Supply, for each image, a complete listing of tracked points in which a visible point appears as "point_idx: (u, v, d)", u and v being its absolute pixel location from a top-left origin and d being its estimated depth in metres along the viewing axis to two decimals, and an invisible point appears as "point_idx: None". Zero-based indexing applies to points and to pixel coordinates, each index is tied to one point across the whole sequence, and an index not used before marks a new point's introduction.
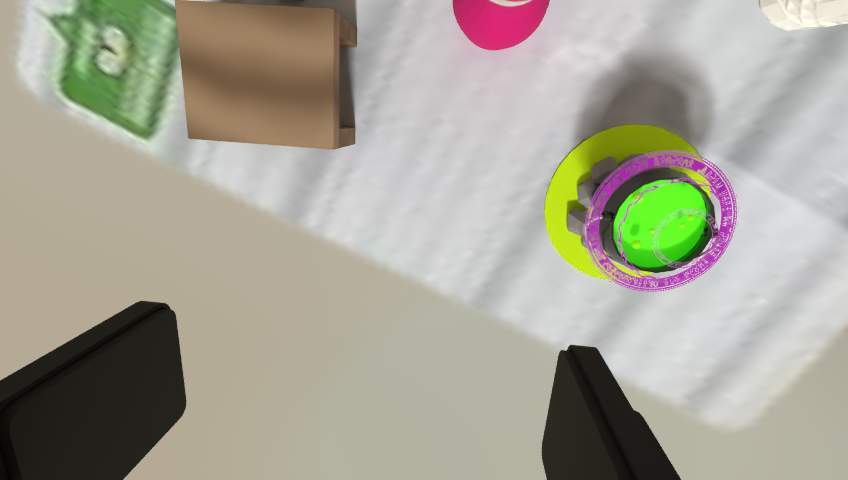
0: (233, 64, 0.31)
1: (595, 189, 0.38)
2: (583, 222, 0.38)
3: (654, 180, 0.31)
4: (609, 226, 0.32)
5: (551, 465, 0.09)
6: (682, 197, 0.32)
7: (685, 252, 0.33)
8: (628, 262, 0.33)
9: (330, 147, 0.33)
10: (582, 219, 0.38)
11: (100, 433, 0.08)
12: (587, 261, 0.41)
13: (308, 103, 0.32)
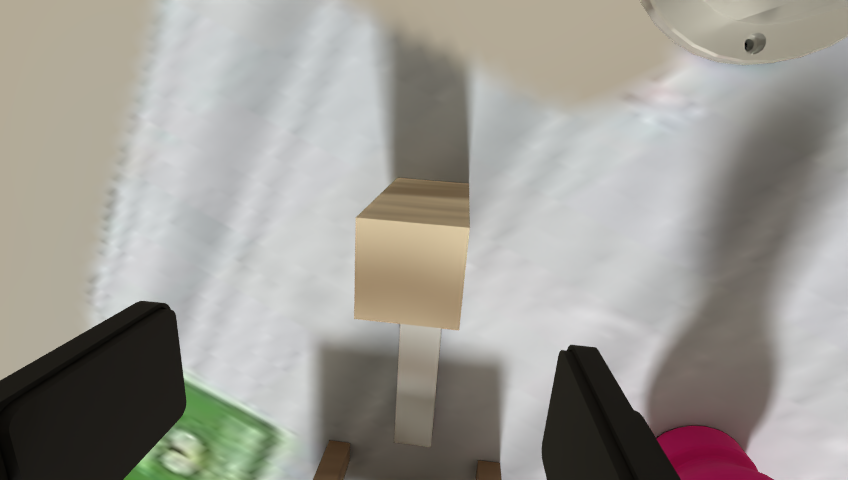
0: None
1: None
2: None
3: None
4: None
5: (551, 465, 0.09)
6: None
7: None
8: None
9: None
10: None
11: (100, 433, 0.08)
12: None
13: None
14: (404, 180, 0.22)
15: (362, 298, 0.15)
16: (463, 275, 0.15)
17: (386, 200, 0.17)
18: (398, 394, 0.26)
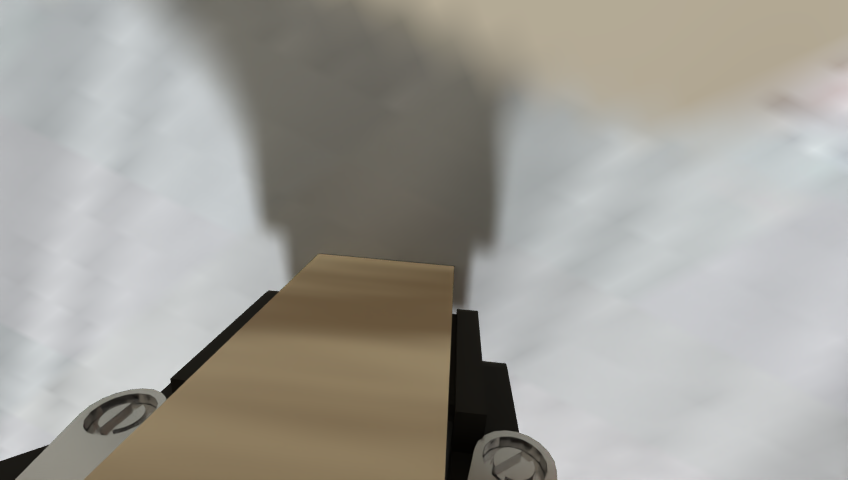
0: None
1: None
2: None
3: None
4: None
5: None
6: None
7: None
8: None
9: None
10: None
11: None
12: None
13: None
14: (327, 263, 0.11)
15: None
16: None
17: (225, 376, 0.06)
18: None
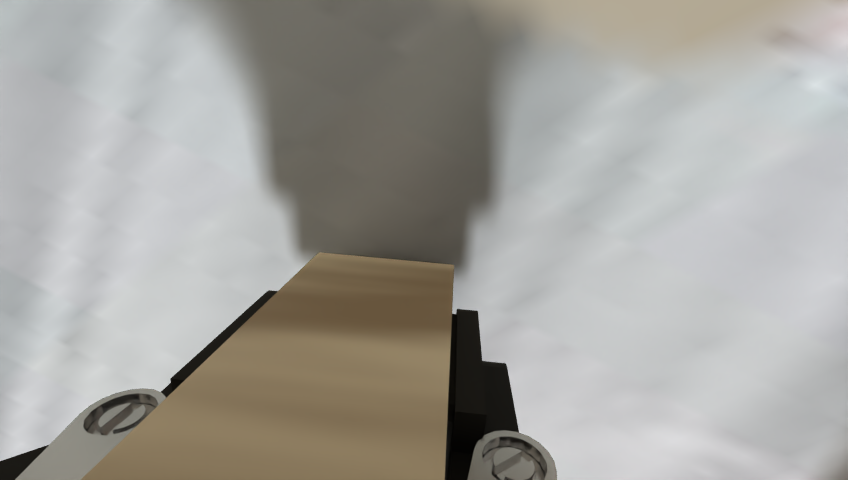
0: None
1: None
2: None
3: None
4: None
5: None
6: None
7: None
8: None
9: None
10: None
11: None
12: None
13: None
14: (328, 261, 0.11)
15: None
16: None
17: (226, 373, 0.06)
18: None
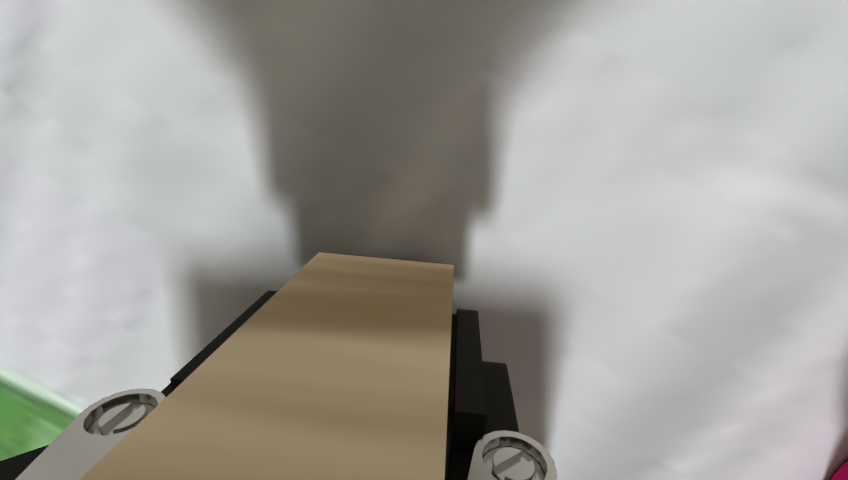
0: None
1: None
2: None
3: None
4: None
5: None
6: None
7: None
8: None
9: None
10: None
11: None
12: None
13: None
14: (328, 261, 0.11)
15: None
16: None
17: (226, 373, 0.06)
18: None
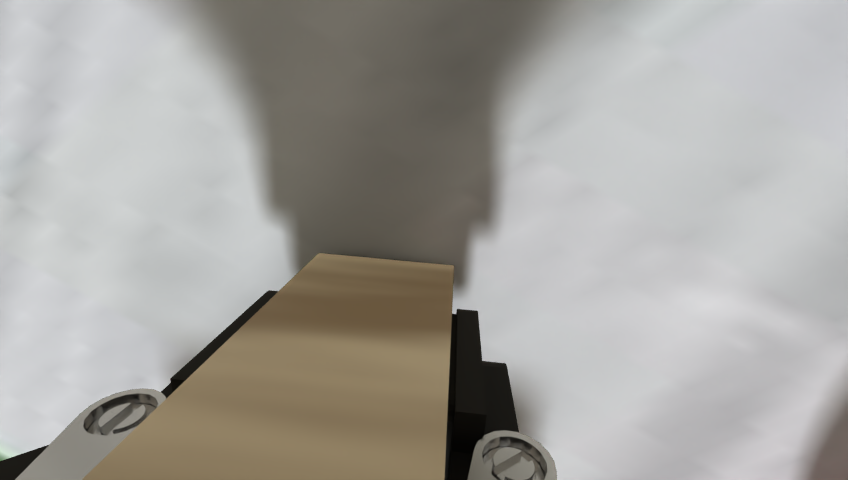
0: None
1: None
2: None
3: None
4: None
5: None
6: None
7: None
8: None
9: None
10: None
11: None
12: None
13: None
14: (328, 262, 0.11)
15: None
16: None
17: (225, 374, 0.06)
18: None
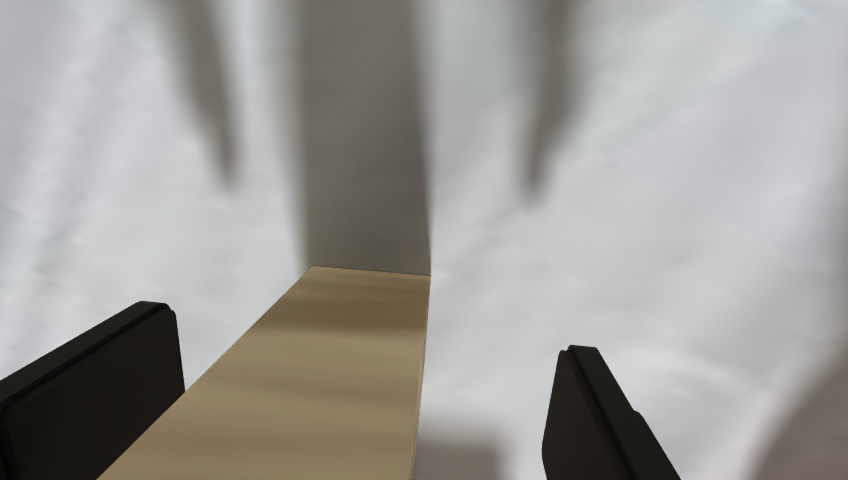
0: None
1: None
2: None
3: None
4: None
5: (551, 465, 0.09)
6: None
7: None
8: None
9: None
10: None
11: (100, 433, 0.08)
12: None
13: None
14: (321, 274, 0.13)
15: None
16: None
17: (243, 361, 0.08)
18: None
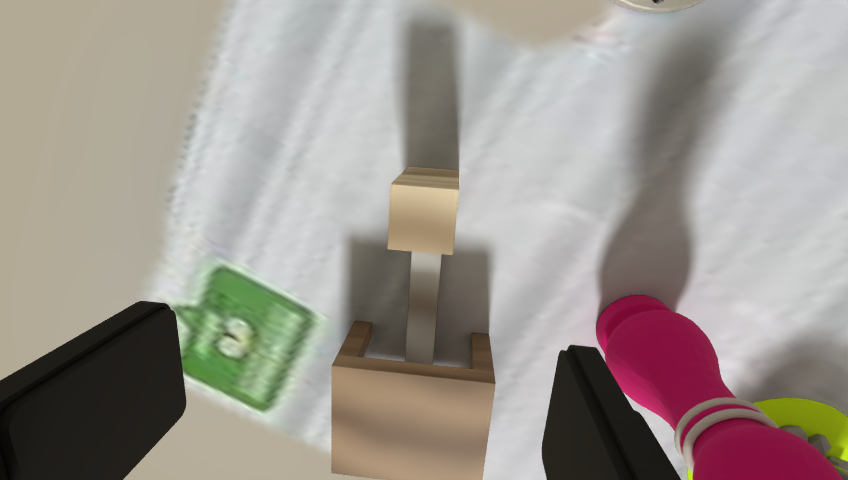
0: (385, 419, 0.31)
1: None
2: None
3: None
4: None
5: (551, 465, 0.09)
6: None
7: None
8: None
9: None
10: None
11: (100, 433, 0.08)
12: None
13: (459, 454, 0.32)
14: (414, 168, 0.32)
15: (393, 235, 0.25)
16: (455, 219, 0.24)
17: (405, 177, 0.27)
18: (408, 325, 0.35)
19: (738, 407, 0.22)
